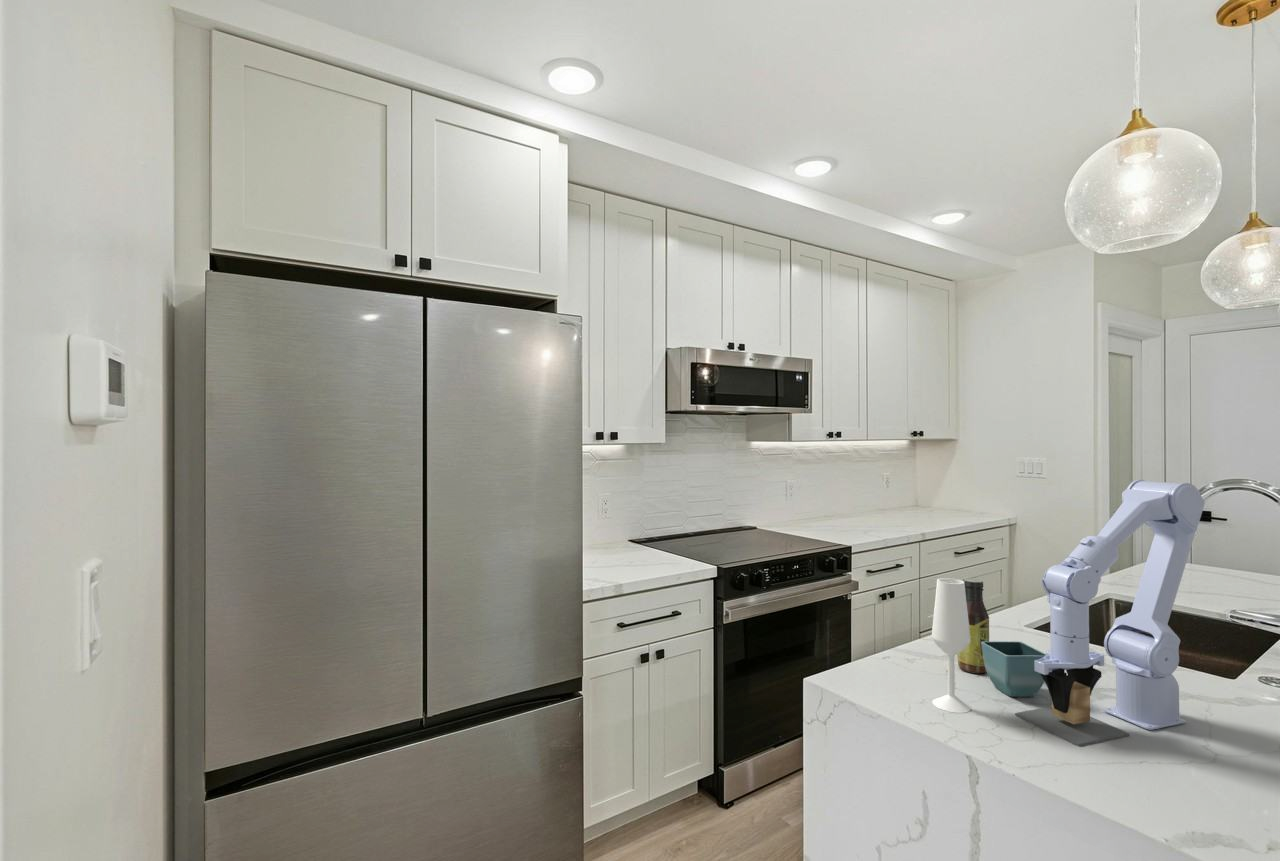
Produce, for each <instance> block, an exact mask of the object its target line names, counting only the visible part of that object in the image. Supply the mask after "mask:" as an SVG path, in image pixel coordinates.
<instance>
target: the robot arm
mask: <svg viewBox="0 0 1280 861" xmlns="http://www.w3.org/2000/svg"><path fill="white" fill-rule="evenodd" d="M1200 492H1201V491H1200V490H1199V489H1198V488H1197V487H1196V485H1194V484H1192V483H1188V482H1168V481H1167V482H1165V481H1152V480H1144V479H1136V480H1132V482H1130V484H1128V486H1127V488H1126V489H1125V490H1123V491H1122V493H1121V501H1122V503H1121V504H1120V506H1119V507H1118V508H1117V510H1116V511H1115V512H1114V513H1113V515H1112V516H1111V517H1110V519H1109V520H1108V521H1107V523H1106V524H1105V525H1104V527H1102V529H1101V530H1100V532H1099V533H1098V534H1097V535H1088V536H1085V537H1083V538H1082V539H1081V540H1080V541H1079V544H1078V545H1077V546H1076V547H1075V548H1074V549H1073V550H1072V552H1071V553H1070V554H1069V555H1067V557H1066V558H1065V559H1064V560H1063V561H1062V562H1061V563H1059V564H1053V565H1052V566H1050V567H1048V568H1047V570H1045V572H1044V574H1043V578H1041V585H1042V588H1043V589H1044V591H1045V593H1046V598H1047V600H1046V601H1047V602H1048V604H1049V606H1050V607H1049V608H1050V609H1049V610H1050V612H1049V613H1050V614H1049V616H1050V618H1049V619H1050V620H1049V622H1050V625H1049V626H1050V629H1049V630H1050V631H1049V632H1050V649H1048V650H1046V651H1045V654H1046V656H1045V657H1043V658H1041V659H1038V660H1034V671H1036V672H1039V673H1040V674H1041V676H1042V678H1043V679H1044V683H1045V685H1046V687H1047V689H1048V693H1049V695H1050V699H1051V704H1052V703H1053V706H1054V709H1056V710H1058V711H1061V712H1063V713H1067V712H1068V708H1069V699H1070V692H1071V688H1072V686H1073V683H1074V682H1078V683H1080V684H1083V685H1085V686H1088V687H1090V697H1091V695H1092V692H1093V690H1094V688H1095V686H1096V684H1097V683H1098V681H1099V680H1100V679H1101V678H1102V671H1101V670H1099V669H1096V668H1094V666H1098V667H1104V666H1105V655H1104V654H1101V653H1098V652H1096V651H1090V610H1089V609H1090V601H1091V600H1093V599H1094V598H1096V596H1097V594H1098V590H1099V585H1100V584H1101V581H1102V577H1103V575H1104V574H1105V573H1106V572H1107V570H1109V569H1110V568H1111V566H1113V564H1114V563H1115V562H1116V561H1118V559H1119V557H1120V555H1119V549H1118V547H1120V546H1121V544H1122V543H1124V542H1125V541H1126V540H1127V539H1129V537H1131V536H1132V535H1133V534H1134V533H1135V532H1136V531H1137V530H1139V528H1140V527H1141V526H1143V525H1145V526H1147V527H1149V528H1150V529H1151V531H1152V532H1153V533H1154V536H1153V538H1152V542H1151V546H1150V549H1149V552H1148V554H1147V558H1146V562H1145V564H1144V568H1143V571H1142V575H1141V578H1140V581H1139V583H1138V587H1137V589H1136V590H1137V591H1136V593H1135V596H1134V600H1133V604H1132V605H1131V606H1132V607H1131V611H1130V612H1127V613H1126V614H1125V613H1124V614H1123V615H1120V616H1118V617H1116V618H1115V619H1114V622H1113V625H1112V626H1111V628H1110V629H1109V630H1108V631H1107V633H1106V634H1105V637H1104V640H1103V646H1104V650H1105V652H1106V654H1107V655H1108V656H1109V657H1110V658H1111V663H1112V664H1113V665H1114V666H1115V706H1111V707H1107V708H1104V710H1103V711H1104V712H1105V713H1107V714H1109V715H1112V716H1115V717H1117V718H1120V719H1122V720H1125V721H1127V722H1129V723H1131V724H1134V725H1136V726H1138V727H1141V728H1143V729H1146V730H1149V731H1152V730H1158V729H1162V728H1166V727H1167V728H1168V727H1171V726H1177V725H1182V724H1185V723H1186V721H1185V719H1183V718H1181V717H1180V686H1179V683H1178V680H1177V679H1176V677H1175V675H1173V673H1174V672H1175V671H1176V670H1177V669H1178V666H1179V663H1180V655H1179V654H1180V652H1179V648H1180V645H1181V639H1180V637H1179V636H1178V635H1177V634H1176V633H1175V631H1174V630H1173V629H1172V628H1171V627H1170V625H1169V624H1168V623H1169V620H1170V617H1171V614H1172V612H1173V607H1174V604H1175V601H1176V597H1177V594H1178V591H1179V587H1180V585H1181V582H1182V578H1183V574H1184V571H1185V567H1186V564H1187V562H1188V558H1189V555H1190V552H1191V550H1192V549H1191V548H1192V545H1193V542H1194V539H1195V536H1196V532H1197V530H1198V527H1199V523H1200V520H1201V517H1202V514H1203V510H1204V507H1205V504H1206V502H1205V500H1204V499H1203V496H1202V495H1201V493H1200ZM1143 633H1146V634H1143ZM1147 634H1149V635H1152V636H1149V635H1147ZM1065 671H1066V672H1065Z"/></svg>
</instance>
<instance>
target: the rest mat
mask: <svg viewBox="0 0 1280 861" xmlns="http://www.w3.org/2000/svg"><path fill="white" fill-rule="evenodd" d="M1014 715H1015V716H1016V717H1018V718H1020V719H1022V720H1023V721H1026V722H1029V723H1031V724H1033V725H1034V726H1037V727H1038V728H1040V729H1043V730H1044V731H1046V732H1049V733H1050V734H1053V735H1055V736H1057V737H1058V738H1061V739H1063V740H1065V741H1067V742H1069V743H1071V744H1073V745H1075V746H1077V747H1082V746H1086V745H1092V744H1096V743H1097V744H1098V743H1100V742H1101V743H1102V742H1105V741H1106V742H1107V741H1110V740H1115V739H1121V738H1124V737H1130V733H1129V732H1127V731H1125V730H1123V729H1120V728H1118V727H1115V726H1113V725H1111V724H1108V723H1106V722H1104V721H1101V720H1099V719H1098V718H1095V717H1093V716H1090V721H1089V722H1083V723H1078V724H1071V723H1069V722H1067V721H1065V720H1063V719H1061V718H1059V717H1057V716H1055V715H1052V706H1047V707H1041V708H1036V709H1030V710H1029V709H1028V710H1024V711H1019V712H1014Z"/></svg>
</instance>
